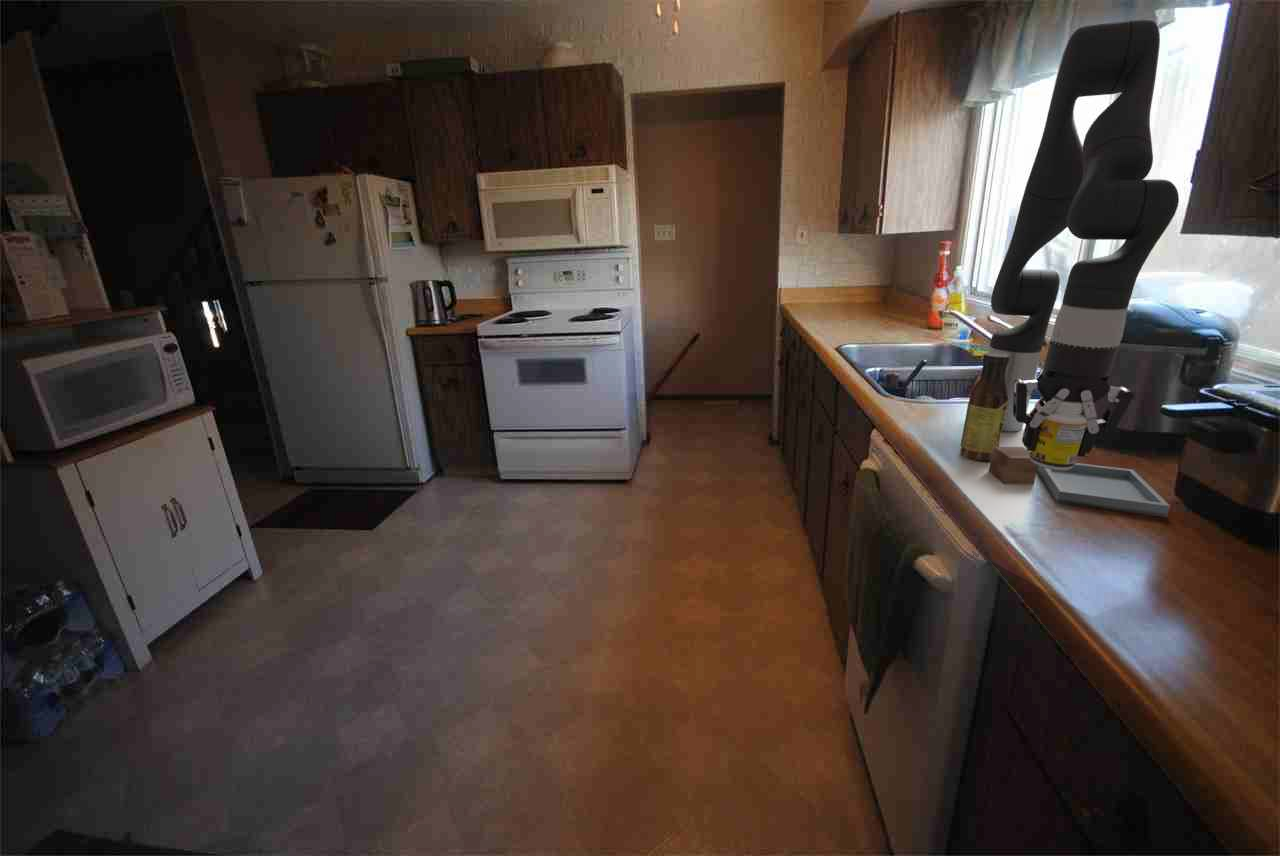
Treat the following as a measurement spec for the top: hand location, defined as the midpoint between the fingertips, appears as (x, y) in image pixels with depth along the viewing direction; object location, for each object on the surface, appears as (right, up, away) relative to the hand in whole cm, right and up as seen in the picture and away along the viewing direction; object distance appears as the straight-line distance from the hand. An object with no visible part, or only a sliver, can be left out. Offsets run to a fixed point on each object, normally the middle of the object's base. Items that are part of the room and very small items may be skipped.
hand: (1053, 451), depth 83 cm
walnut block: (+4, -5, +16) cm, 17 cm away
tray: (+15, -7, +11) cm, 20 cm away
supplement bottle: (0, -2, +1) cm, 2 cm away
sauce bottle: (+4, -2, +25) cm, 26 cm away
